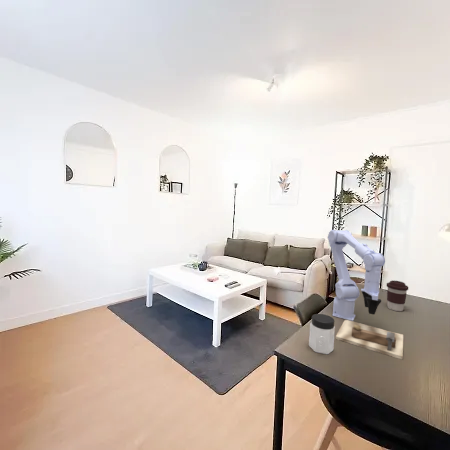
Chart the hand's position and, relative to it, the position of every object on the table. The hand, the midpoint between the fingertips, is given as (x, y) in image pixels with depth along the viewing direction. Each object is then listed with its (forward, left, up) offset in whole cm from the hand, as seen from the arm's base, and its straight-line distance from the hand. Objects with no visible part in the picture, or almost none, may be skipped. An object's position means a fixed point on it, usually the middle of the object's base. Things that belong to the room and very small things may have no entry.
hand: (369, 310), depth 115 cm
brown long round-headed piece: (+3, -12, -8) cm, 14 cm away
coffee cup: (+9, +39, -10) cm, 41 cm away
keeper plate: (+2, -7, -9) cm, 12 cm away
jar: (-13, -28, -10) cm, 32 cm away
